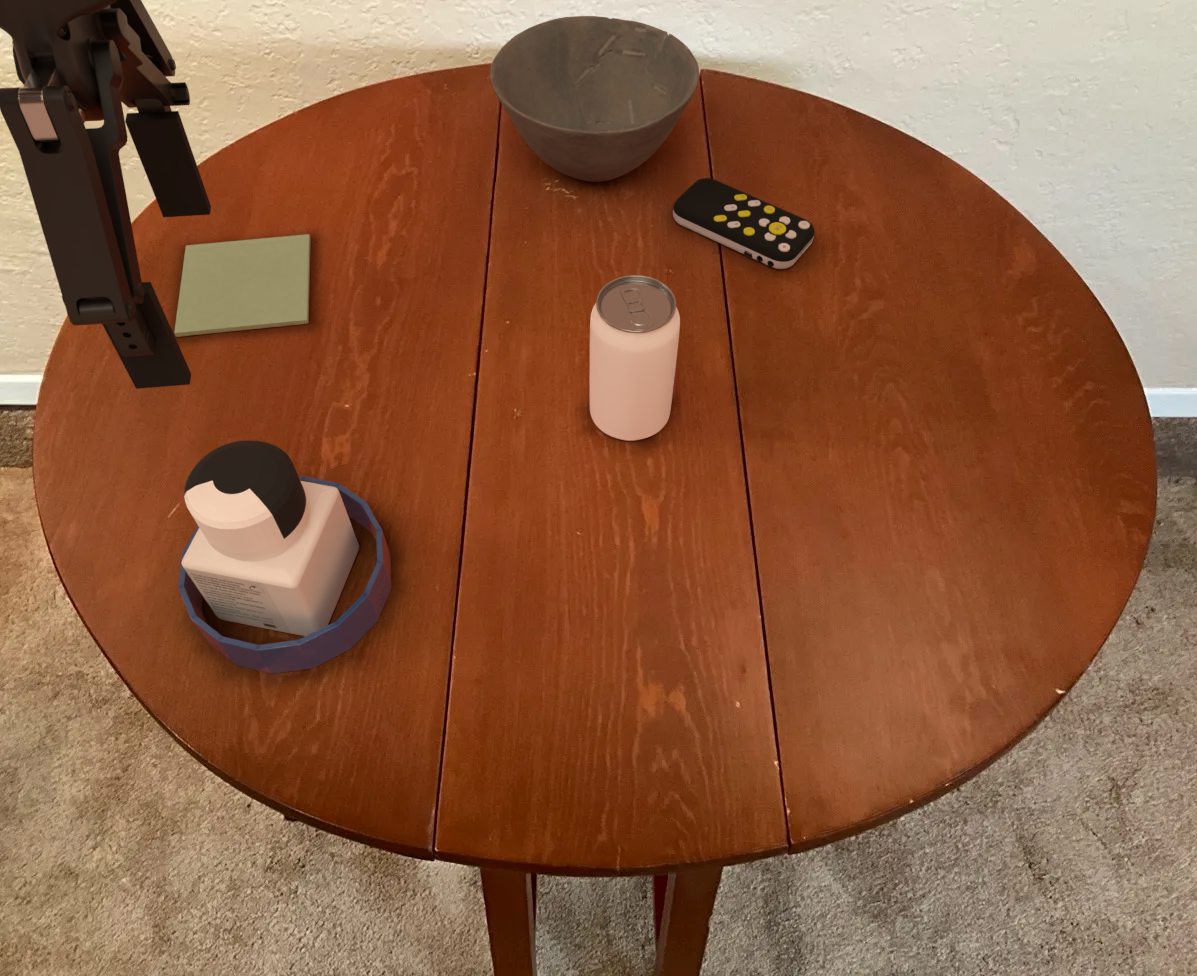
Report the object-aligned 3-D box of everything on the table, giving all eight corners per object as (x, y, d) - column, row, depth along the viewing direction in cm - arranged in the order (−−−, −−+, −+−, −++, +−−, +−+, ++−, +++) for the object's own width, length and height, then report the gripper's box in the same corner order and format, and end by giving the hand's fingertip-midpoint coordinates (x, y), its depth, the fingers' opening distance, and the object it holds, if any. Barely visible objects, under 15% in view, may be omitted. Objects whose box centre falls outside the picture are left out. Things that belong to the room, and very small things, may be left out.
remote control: (700, 187, 93) (702, 169, 92) (818, 239, 89) (822, 221, 88) (665, 221, 90) (667, 204, 89) (785, 276, 86) (789, 259, 85)
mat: (176, 337, 81) (173, 333, 81) (187, 249, 88) (185, 245, 87) (308, 323, 82) (307, 319, 82) (310, 238, 89) (309, 233, 88)
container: (261, 527, 71) (203, 415, 60) (362, 546, 70) (321, 436, 59) (216, 620, 66) (145, 517, 56) (323, 642, 65) (271, 541, 55)
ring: (189, 685, 64) (169, 662, 61) (204, 516, 71) (188, 488, 68) (394, 657, 65) (385, 633, 62) (388, 494, 72) (380, 466, 69)
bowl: (722, 142, 97) (734, 48, 89) (629, 250, 88) (633, 156, 80) (565, 85, 103) (563, -8, 95) (461, 181, 93) (449, 87, 85)
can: (598, 449, 75) (600, 342, 65) (582, 387, 79) (581, 277, 69) (679, 437, 76) (692, 329, 66) (659, 376, 79) (669, 265, 70)
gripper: (54, 60, 31) (230, 461, 48) (145, -245, 45) (256, 150, 62) (-205, 70, 30) (71, 475, 47) (-29, -245, 44) (133, 156, 61)
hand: (176, 291), depth 54 cm, fingers open, 13 cm apart
